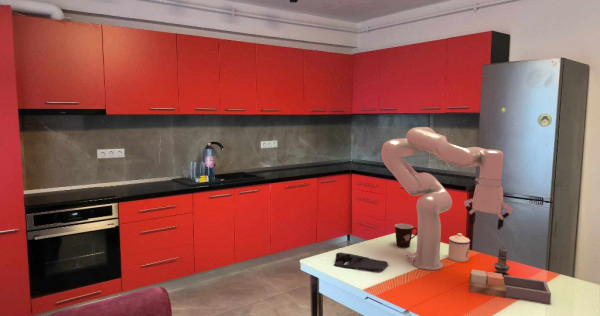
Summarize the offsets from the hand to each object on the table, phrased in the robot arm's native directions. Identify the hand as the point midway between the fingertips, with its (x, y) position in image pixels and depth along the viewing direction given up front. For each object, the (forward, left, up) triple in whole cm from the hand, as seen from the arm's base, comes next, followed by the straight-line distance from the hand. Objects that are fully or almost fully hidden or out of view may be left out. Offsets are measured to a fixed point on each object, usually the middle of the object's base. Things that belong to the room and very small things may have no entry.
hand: (485, 226), depth 157 cm
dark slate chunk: (-48, 0, -24) cm, 54 cm away
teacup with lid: (-9, +26, -23) cm, 36 cm away
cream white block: (-1, -4, -20) cm, 21 cm away
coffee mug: (-33, +32, -23) cm, 51 cm away
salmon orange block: (+4, -4, -20) cm, 21 cm away
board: (+2, -4, -23) cm, 23 cm away
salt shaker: (+8, +13, -23) cm, 27 cm away
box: (+15, -4, -23) cm, 27 cm away
